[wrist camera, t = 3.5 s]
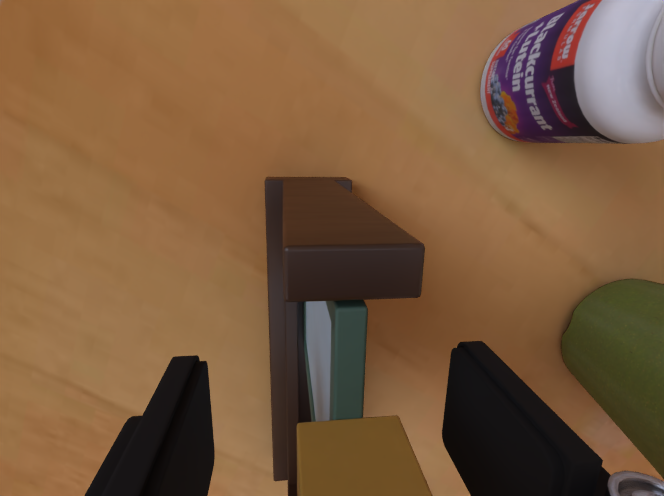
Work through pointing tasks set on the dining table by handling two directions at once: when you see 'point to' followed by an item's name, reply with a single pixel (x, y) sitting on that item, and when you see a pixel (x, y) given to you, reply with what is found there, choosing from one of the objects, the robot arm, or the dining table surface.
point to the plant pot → (623, 359)
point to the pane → (347, 415)
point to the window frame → (322, 282)
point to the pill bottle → (581, 75)
